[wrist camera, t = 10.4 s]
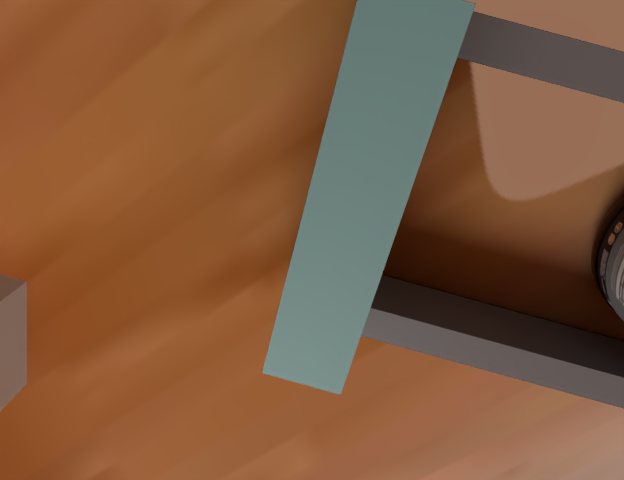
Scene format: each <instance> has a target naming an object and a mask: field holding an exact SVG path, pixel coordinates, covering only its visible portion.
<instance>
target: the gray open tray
mask: <svg viewBox="0 0 624 480" xmlns="http://www.w3.org/2000/svg"><path fill="white" fill-rule="evenodd" d="M474 7H475V3H471V2H467V1H464V0H357V3H356V7H355V11H354V15H353V19H352V23H351V27H350V31H349V35H348V39H347V43H346V47H345V51H344V54H343V58H342V62H341V66H340V70H339V74H338V78H337V82H336V86H335V90H334V94H333V98H332V102H331V105H330V109H329V113H328V117H327V121H326V125H325V129H324V133H323V137H322V141H321V145H320V149H319V153H318V156H317V160H316V164H315V168H314V172H313V176H312V180H311V184H310V188H309V192H308V196H307V200H306V204H305V207H304V211H303V215H302V219H301V223H300V227H299V231H298V235H297V239H296V243H295V247H294V251H293V254H292V258H291V262H290V266H289V270H288V274H287V278H286V282H285V286H284V290H283V294H282V298H281V302H280V305H279V309H278V313H277V317H276V321H275V325H274V329H273V333H272V337H271V341H270V345H269V349H268V353H267V356H266V360H265V364H264V368H263V372H262V373H264V374H268V375H271V376H275V377H279V378H282V379H286V380H289V381H293V382H297V383H300V384H304V385H307V386H311V387H315V388H318V389H322V390H325V391H329V392H333V393H336V394H340V395H341V392H342V389H343V386H344V383H345V380H346V377H347V374H348V371H349V369H350V366H351V363H352V360H353V357H354V354H355V351H356V348H357V345H358V343H359V340H360V337H361V336H364V337H367V338H371V339H375V340H378V341H382V342H385V343H389V344H393V345H396V346H400V347H403V348H407V349H411V350H414V351H418V352H422V353H425V354H429V355H432V356H436V357H440V358H443V359H447V360H451V361H454V362H458V363H461V364H465V365H469V366H472V367H476V368H480V369H483V370H487V371H490V372H494V373H498V374H501V375H505V376H508V377H512V378H516V379H519V380H523V381H527V382H530V383H534V384H537V385H541V386H545V387H548V388H552V389H556V390H559V391H563V392H566V393H570V394H574V395H577V396H581V397H585V398H588V399H592V400H595V401H599V402H603V403H606V404H610V405H613V406H617V407H621V408H624V341H620V340H617V339H613V338H609V337H606V336H602V335H599V334H595V333H591V332H588V331H584V330H580V329H577V328H573V327H569V326H566V325H562V324H558V323H555V322H551V321H548V320H544V319H540V318H537V317H533V316H529V315H526V314H522V313H518V312H515V311H511V310H508V309H504V308H500V307H497V306H493V305H489V304H486V303H482V302H478V301H475V300H471V299H468V298H464V297H460V296H457V295H453V294H449V293H446V292H442V291H438V290H435V289H431V288H428V287H424V286H420V285H417V284H413V283H409V282H406V281H402V280H398V279H395V278H391V277H387V276H384V275H382V273H383V270H384V267H385V264H386V262H387V259H388V256H389V253H390V250H391V247H392V244H393V241H394V238H395V236H396V233H397V230H398V227H399V224H400V221H401V218H402V215H403V212H404V210H405V207H406V204H407V201H408V198H409V195H410V192H411V189H412V186H413V184H414V181H415V178H416V175H417V172H418V169H419V166H420V163H421V160H422V157H423V155H424V152H425V149H426V146H427V143H428V140H429V137H430V134H431V131H432V129H433V126H434V123H435V120H436V117H437V114H438V111H439V108H440V105H441V103H442V100H443V97H444V94H445V91H446V88H447V85H448V82H449V79H450V77H451V74H452V71H453V68H454V65H455V62H456V59H457V58H460V59H464V60H468V61H471V62H475V63H479V64H483V65H486V66H490V67H493V68H497V69H501V70H505V71H508V72H512V73H516V74H519V75H523V76H527V77H530V78H534V79H538V80H542V81H545V82H549V83H553V84H557V85H561V86H564V87H568V88H571V89H575V90H579V91H582V92H586V93H590V94H593V95H597V96H601V97H605V98H608V99H612V100H616V101H619V102H623V103H624V52H622V51H618V50H615V49H610V48H607V47H604V46H600V45H596V44H592V43H589V42H585V41H581V40H577V39H573V38H570V37H566V36H563V35H559V34H555V33H551V32H548V31H544V30H540V29H536V28H533V27H529V26H525V25H522V24H518V23H514V22H511V21H507V20H503V19H499V18H496V17H492V16H488V15H485V14H481V13H477V12H473V10H474Z"/></svg>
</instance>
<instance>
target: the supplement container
mask: <svg viewBox="0 0 624 480" xmlns="http://www.w3.org/2000/svg"><path fill="white" fill-rule="evenodd" d="M591 266H592V273H593V278H594V281H595V283H596V286H597V288H598V290H599V292H600V294H601V295H602V297H603V298H604V300H605V301H606V302H607V304H608V305H609V306H610V307H611V308H612V309H613V310H614V311H615V312H616V313H617V314H618V315H619V316H620V318H621V319H622V320H623V321H624V196H623V197H622V198H621V199H620V200H619V201H618V202H617V203H616V204H615V205H614V206H613V207H612V208H611V210H610V211H609V212H608V214H607V215H606V216H605V218H604V219H603V221H602V223H601V225H600V227H599V229H598V231H597V234H596V236H595V239H594V243H593V247H592V254H591Z"/></svg>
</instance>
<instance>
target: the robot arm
mask: <svg viewBox="0 0 624 480" xmlns="http://www.w3.org/2000/svg"><path fill="white" fill-rule="evenodd" d="M26 384H27V282H26V281H23V280H19V279H15V278H12V277H8V276H4V275H1V274H0V411H1V410H2V409H3V408H4V407H5V406H6V405H7V404H8V403H9V402H10V401H11V400H12V399H13V398H14V397H15V396H16V395H17V394H18V393H19V392H20V390H21V389H22V388H23V387H24V386H25V385H26Z"/></svg>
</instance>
